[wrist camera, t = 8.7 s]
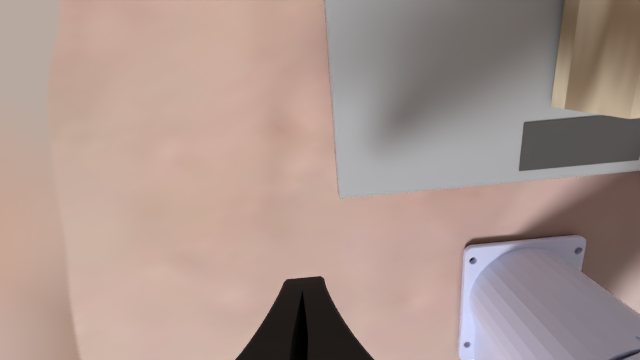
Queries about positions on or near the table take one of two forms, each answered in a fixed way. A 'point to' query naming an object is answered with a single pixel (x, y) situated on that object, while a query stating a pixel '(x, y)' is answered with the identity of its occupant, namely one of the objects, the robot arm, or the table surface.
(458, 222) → the table surface
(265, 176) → the table surface
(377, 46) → the plate
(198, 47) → the table surface
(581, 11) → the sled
